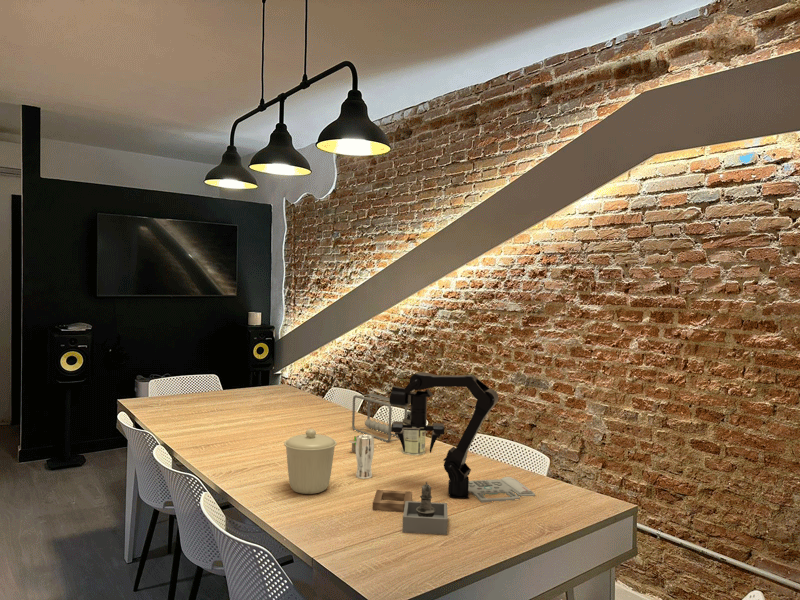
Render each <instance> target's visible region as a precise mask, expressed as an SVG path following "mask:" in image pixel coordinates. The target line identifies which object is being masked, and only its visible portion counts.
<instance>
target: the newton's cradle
mask: <svg viewBox="0 0 800 600" xmlns="http://www.w3.org/2000/svg"><path fill="white" fill-rule="evenodd" d="M366 396H367V397H366ZM371 397H372V398H371ZM356 398H357V399H360V400H363V401H365V402H366V403H365V404H366V406H367V410H366V413H367V419H366V420H365V421H364V426H365V427H366V428H367V429H370V428H372V429H371V430H373V429H375V430H374V431H376V430H378V431H377V432H379V431H381V432H380V433H382V432H384V433H383V434H385V433H387V434H386V435H387V436H388V437H387V439H386V438H383V437H380V436H377V435H376V434H375V435H374V434H371V433H369V432H366V431H363V430H365V429H364V428H365V427H362V428H360V430H358V429H359V428H356V427H355V423H356V422H355V418H356V416H355V414H356ZM381 400H382V401H381ZM373 404H376V406H378V405H380V407H382V406H385V407H384V408H385V418H387V416H388V420H384V419H383V418H381V419H382V420H380V419H378V416H377V413H375V414H373V413H374V412H371V410H373ZM393 406H394V405H391V404H390V397H388V396H387V397H386V396H383V395H379V394H374V393H369V394H362V395H361V394H360V395H357V394H356V395H353V398H352V412H351V413H352V414H351V415H352V416H351V417H352V420H351V428H352V430H353V431H354V430H356V431H358V432H357V433H359V432H361V433H360V434H362V433H364V434H363V435H365V434H367V435H372V436H374V437H375V438H374V439H376V438H377V439H376V440H379V439H380V440H379V441H382V440H383V441H382V442H385V441H386V442H385V443H389V442H392V441H398V440H397V439H399V437H398V435H395V433H393V432H391V426H392V412H393ZM377 408H378V407H375V412H377ZM382 409H383V408H380V414H379V415H380V417H382V415H383V412H382ZM387 409H388V410H387ZM387 411H388V414H387ZM407 411H408V406H407V407H404V418H403V419H405V418H407ZM371 414H372V417H376V418H377V420H378V421H376V419H373V420H371ZM373 415H375V416H373ZM383 420H384V421H383ZM380 421H382V423H381V422H380ZM385 422H386V423H387V424H385ZM356 431H355V432H356ZM391 435H393V436H391ZM394 436H396V437H395V438H394V439H391V438H392V437H394ZM397 437H398V438H397Z"/></svg>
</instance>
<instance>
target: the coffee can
mask: <svg viewBox="0 0 800 600" xmlns="http://www.w3.org/2000/svg"><path fill="white" fill-rule="evenodd" d="M402 422H403V424H408V425H410V420H407V418H405V419H404V418H402ZM412 428H416V427H412ZM426 432H427V431H421V430H404V439H405V452H404V451H403V447H402V446H401V453H402V454H403V455H408V456H421V455H425V454H426Z"/></svg>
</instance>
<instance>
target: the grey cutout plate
mask: <svg viewBox="0 0 800 600" xmlns="http://www.w3.org/2000/svg"><path fill="white" fill-rule="evenodd" d="M513 492H514V493H513ZM469 493H472V494H471V495H472V496H474V497H475V496H476V497H477V498H478V499H477V498H476V497H475V498H476V499H477V500H478V501H479V502H480V501H481V502H480V503H494V501H499V502H507V501H506V500H512V501H516V500H515V499H521V498H522V497H521V496H533V497H535V496H536V492H534V491H532V490H531V489H529V488H528V487H527V486H526V485H525V484H523V483H521V481H519V480H518V479H517V478H513V477H511V476H504V477H502V478H499V479H481V480H480V479H479V480H469V488H468V494H469ZM498 493H503V494H505V493H506V494H505V495H507V496H505V497H491V498H490V497H486V496H485V494H489V495H499V494H498ZM515 493H516V494H517V495H516V494H515ZM483 494H484V495H483ZM508 495H509V496H510V497H509V496H508ZM519 496H520V497H519ZM492 501H493V502H492Z"/></svg>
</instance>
